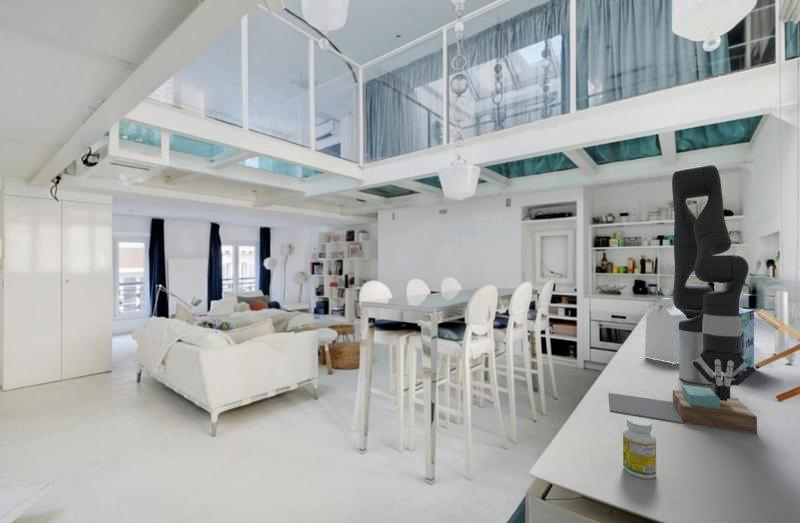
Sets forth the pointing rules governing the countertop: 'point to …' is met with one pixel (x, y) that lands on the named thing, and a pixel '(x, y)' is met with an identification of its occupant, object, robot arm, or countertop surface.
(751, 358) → the gum box
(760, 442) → the countertop surface
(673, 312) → the milk
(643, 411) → the mat
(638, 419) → the supplement bottle
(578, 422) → the countertop surface
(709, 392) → the teal foam pad
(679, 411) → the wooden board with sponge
